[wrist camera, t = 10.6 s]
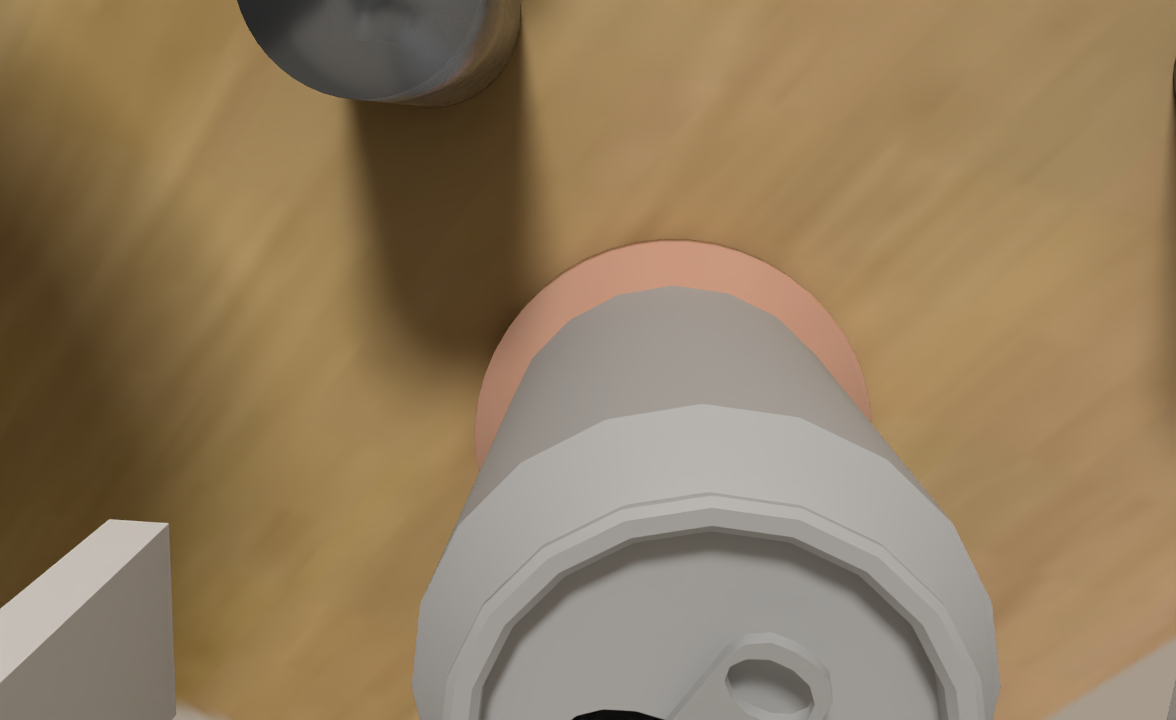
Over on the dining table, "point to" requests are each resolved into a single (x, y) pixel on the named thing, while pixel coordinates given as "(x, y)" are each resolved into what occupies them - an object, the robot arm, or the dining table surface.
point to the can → (698, 541)
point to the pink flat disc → (652, 270)
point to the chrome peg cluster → (390, 46)
